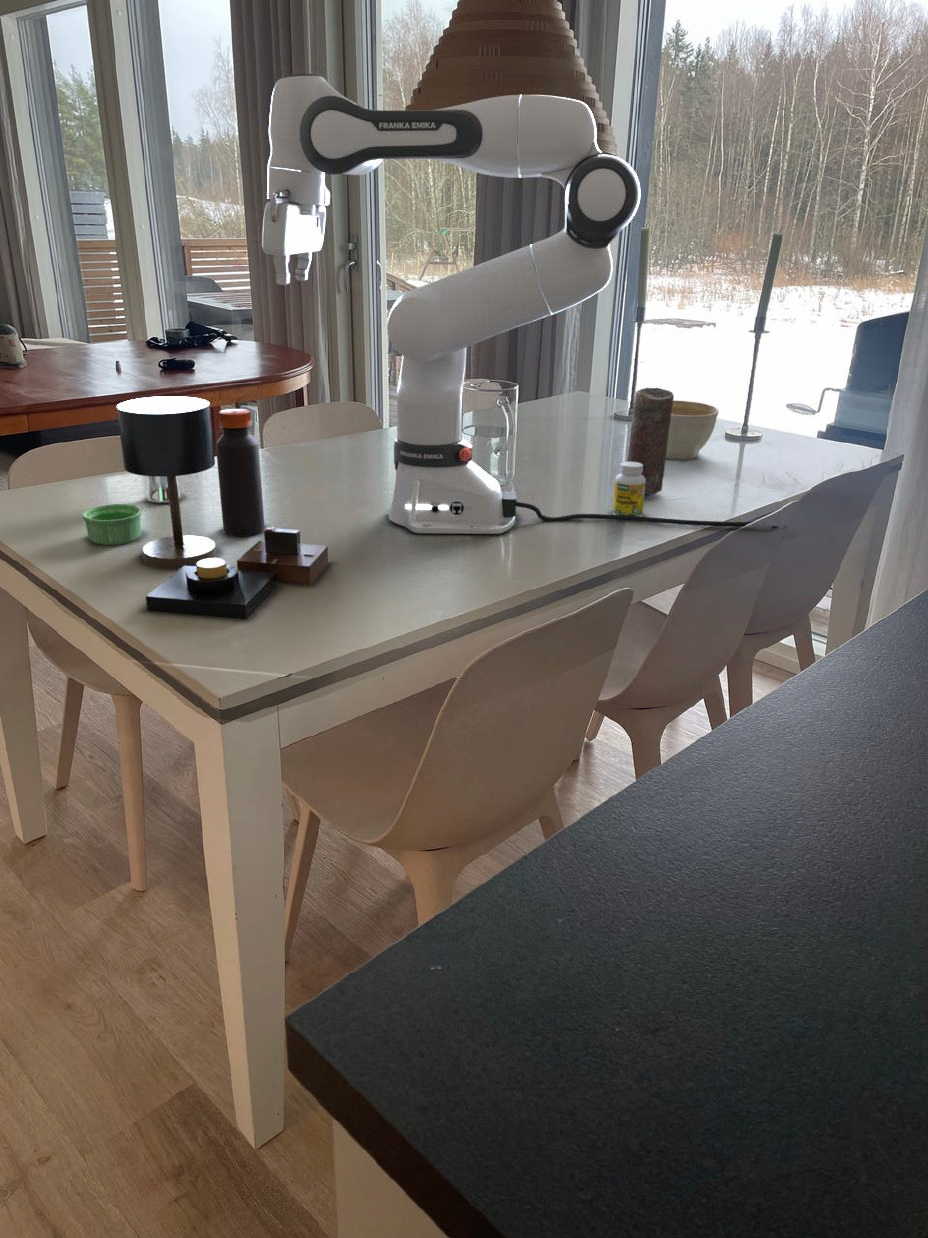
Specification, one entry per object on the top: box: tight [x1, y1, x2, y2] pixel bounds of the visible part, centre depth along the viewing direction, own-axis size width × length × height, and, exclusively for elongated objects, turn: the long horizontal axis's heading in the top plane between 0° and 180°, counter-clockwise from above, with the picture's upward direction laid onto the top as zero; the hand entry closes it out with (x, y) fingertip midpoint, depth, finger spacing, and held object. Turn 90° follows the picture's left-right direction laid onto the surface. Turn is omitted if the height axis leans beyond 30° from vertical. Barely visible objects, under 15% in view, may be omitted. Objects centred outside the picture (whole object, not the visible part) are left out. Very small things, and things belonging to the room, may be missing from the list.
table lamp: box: [115, 395, 217, 569], centre depth 140 cm, size 13×13×24 cm
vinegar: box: [215, 408, 266, 537], centre depth 153 cm, size 7×7×20 cm
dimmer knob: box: [263, 526, 301, 555], centre depth 138 cm, size 5×2×4 cm, turn 81°
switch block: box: [145, 563, 278, 621], centre depth 129 cm, size 14×12×4 cm
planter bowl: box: [666, 399, 720, 461], centre depth 209 cm, size 16×16×11 cm
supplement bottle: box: [612, 461, 646, 517], centre depth 167 cm, size 5×5×10 cm
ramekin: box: [82, 503, 142, 546], centre depth 151 cm, size 9×9×4 cm
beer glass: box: [146, 476, 182, 505], centre depth 169 cm, size 7×7×15 cm
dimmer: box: [236, 540, 329, 586], centre depth 139 cm, size 11×9×3 cm
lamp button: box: [196, 557, 227, 578], centre depth 128 cm, size 4×4×2 cm
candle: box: [626, 387, 675, 497], centre depth 178 cm, size 8×7×20 cm
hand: (292, 282), depth 153 cm, fingers open, 8 cm apart
